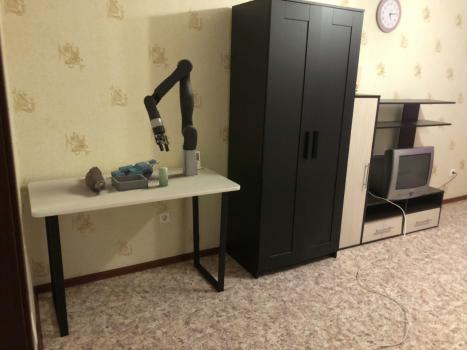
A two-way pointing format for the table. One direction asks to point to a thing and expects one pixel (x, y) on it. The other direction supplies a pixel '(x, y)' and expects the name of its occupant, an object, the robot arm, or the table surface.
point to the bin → (129, 182)
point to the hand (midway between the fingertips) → (165, 151)
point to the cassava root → (95, 179)
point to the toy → (136, 169)
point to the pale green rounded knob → (163, 176)
